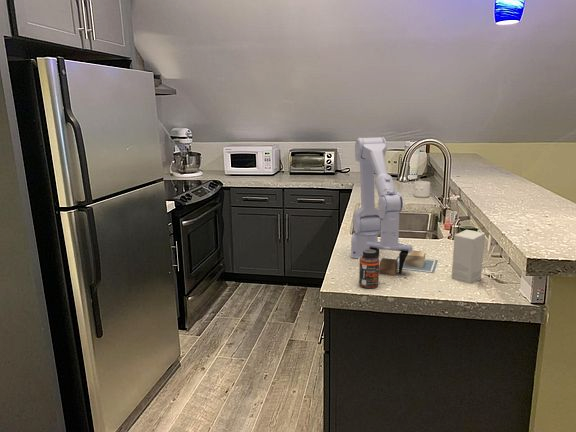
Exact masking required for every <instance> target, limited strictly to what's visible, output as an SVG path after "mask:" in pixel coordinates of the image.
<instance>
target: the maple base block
mask: <svg viewBox="0 0 576 432" xmlns="http://www.w3.org/2000/svg"><path fill="white" fill-rule="evenodd" d="M425 259H426V251H424V250H414V249H412V253H408V255H407V257H406V259H405V266H410V267H419V268H423V266H424V264H425Z"/></svg>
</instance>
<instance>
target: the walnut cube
mask: <svg viewBox="0 0 576 432" xmlns="http://www.w3.org/2000/svg"><path fill="white" fill-rule="evenodd" d="M398 272H399V269H398V260H397V259H394V258H385V257H382V259H380V260H379V275H384V276H394V277H395V276H396V275H397V273H398Z"/></svg>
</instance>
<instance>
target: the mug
mask: <svg viewBox="0 0 576 432" xmlns="http://www.w3.org/2000/svg"><path fill="white" fill-rule="evenodd" d="M410 189H411V191H412V192H413V196H414V197H416V198H424V199H425V198H429V197H430V194H431V182H430V181H425V180H424V181H423V180H421V181H418V180H417V181H414V182H413V184H411V186H410Z"/></svg>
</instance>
